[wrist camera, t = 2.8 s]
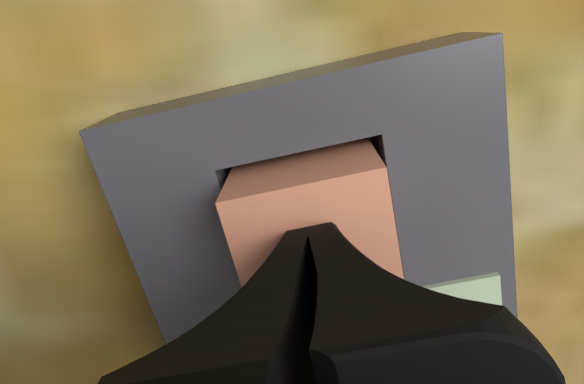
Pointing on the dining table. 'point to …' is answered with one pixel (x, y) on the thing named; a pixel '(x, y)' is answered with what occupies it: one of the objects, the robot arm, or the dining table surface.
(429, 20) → the dining table surface
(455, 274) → the keypad
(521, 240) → the dining table surface
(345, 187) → the terracotta key
